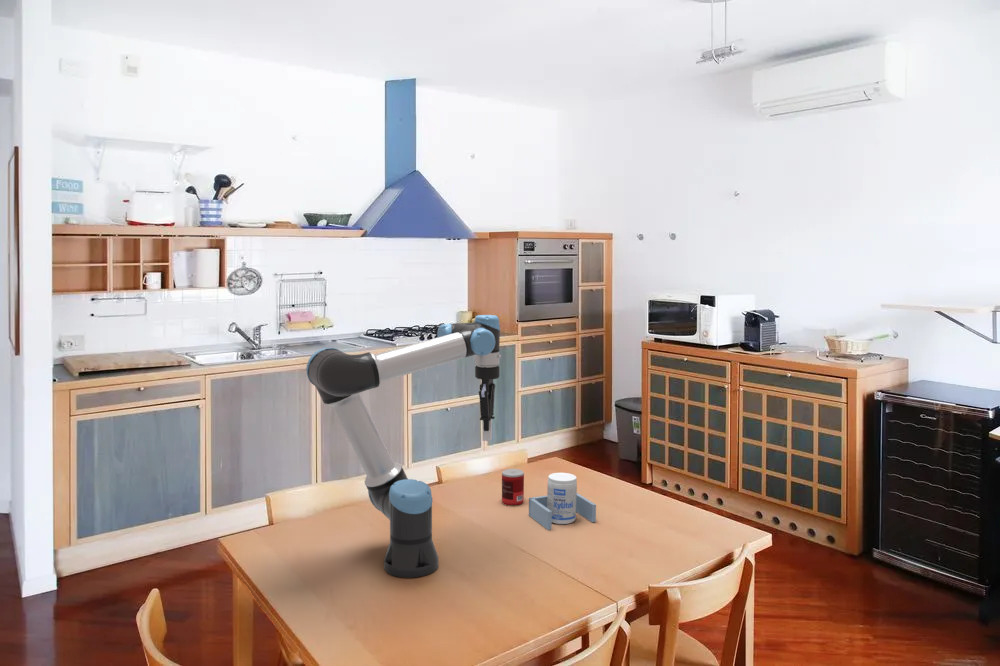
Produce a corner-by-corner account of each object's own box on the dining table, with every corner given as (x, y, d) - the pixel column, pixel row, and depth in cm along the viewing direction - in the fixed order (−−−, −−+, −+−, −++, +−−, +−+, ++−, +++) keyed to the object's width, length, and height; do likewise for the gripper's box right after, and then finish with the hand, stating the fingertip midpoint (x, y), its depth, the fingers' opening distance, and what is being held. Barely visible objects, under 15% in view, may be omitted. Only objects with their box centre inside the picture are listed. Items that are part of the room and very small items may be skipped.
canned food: (524, 499, 266) (524, 469, 264) (522, 506, 258) (523, 475, 257) (503, 498, 266) (503, 468, 265) (500, 505, 259) (500, 475, 257)
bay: (595, 522, 243) (596, 504, 243) (548, 530, 237) (548, 511, 236) (574, 508, 256) (574, 491, 256) (528, 515, 249) (528, 498, 249)
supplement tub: (553, 526, 240) (554, 482, 238) (542, 516, 248) (542, 473, 247) (581, 523, 243) (581, 479, 241) (568, 513, 252) (569, 470, 250)
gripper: (494, 369, 222) (494, 446, 225) (503, 362, 235) (503, 435, 238) (470, 368, 224) (470, 445, 227) (480, 361, 236) (480, 434, 239)
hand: (487, 440), depth 232 cm, fingers closed
